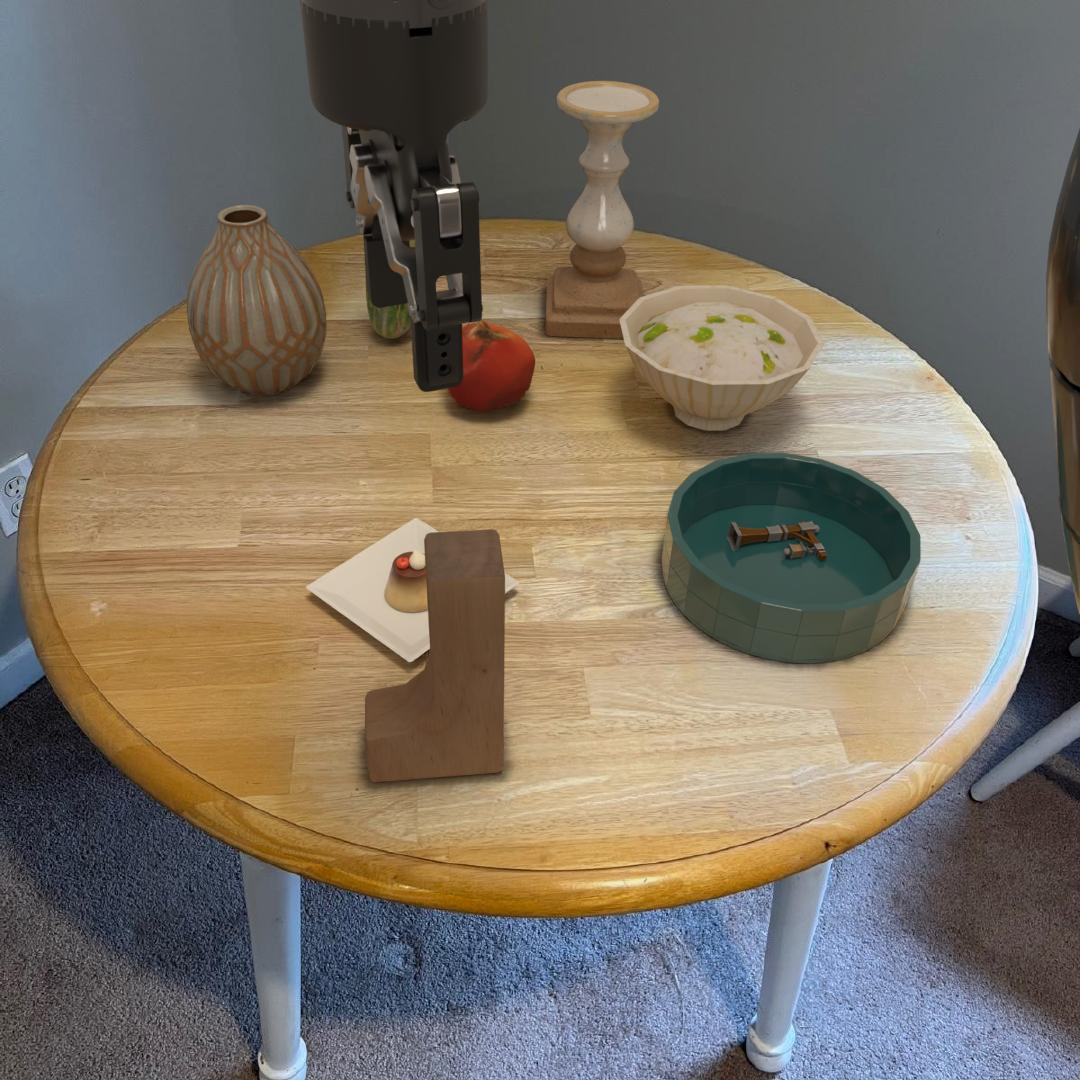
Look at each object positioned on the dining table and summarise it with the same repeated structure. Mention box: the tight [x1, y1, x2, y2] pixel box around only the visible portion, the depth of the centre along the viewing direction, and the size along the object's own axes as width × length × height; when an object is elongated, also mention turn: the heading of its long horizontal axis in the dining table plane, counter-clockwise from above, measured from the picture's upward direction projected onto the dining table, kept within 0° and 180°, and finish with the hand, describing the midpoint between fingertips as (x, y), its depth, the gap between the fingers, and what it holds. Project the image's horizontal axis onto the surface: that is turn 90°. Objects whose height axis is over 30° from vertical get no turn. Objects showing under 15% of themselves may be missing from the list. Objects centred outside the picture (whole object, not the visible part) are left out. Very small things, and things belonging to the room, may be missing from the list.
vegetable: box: [362, 234, 415, 340], centre depth 112 cm, size 6×6×20 cm
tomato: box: [447, 319, 536, 413], centre depth 107 cm, size 9×9×8 cm
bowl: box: [619, 285, 825, 432], centre depth 105 cm, size 19×19×10 cm
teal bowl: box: [660, 452, 922, 664], centre depth 88 cm, size 20×20×6 cm
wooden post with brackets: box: [727, 521, 827, 561], centre depth 92 cm, size 2×8×4 cm
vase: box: [186, 204, 328, 397], centre depth 105 cm, size 13×13×18 cm
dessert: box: [305, 517, 520, 663], centre depth 86 cm, size 12×12×5 cm
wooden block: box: [364, 528, 506, 783], centre depth 69 cm, size 9×4×18 cm, turn 97°
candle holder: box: [544, 80, 660, 340], centre depth 116 cm, size 11×11×24 cm
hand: (413, 342), depth 54 cm, fingers open, 8 cm apart
